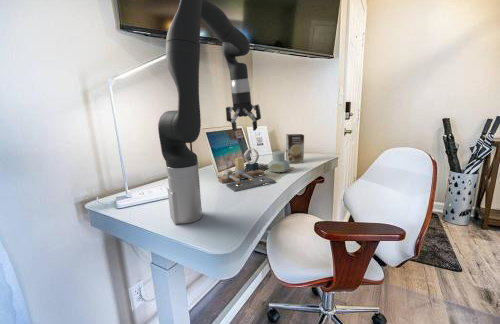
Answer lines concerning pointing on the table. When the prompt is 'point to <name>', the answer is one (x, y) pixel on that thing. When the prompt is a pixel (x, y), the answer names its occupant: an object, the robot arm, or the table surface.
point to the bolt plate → (249, 183)
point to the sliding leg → (241, 168)
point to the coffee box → (295, 148)
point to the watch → (250, 164)
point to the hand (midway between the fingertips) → (245, 130)
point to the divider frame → (237, 176)
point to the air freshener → (278, 162)
